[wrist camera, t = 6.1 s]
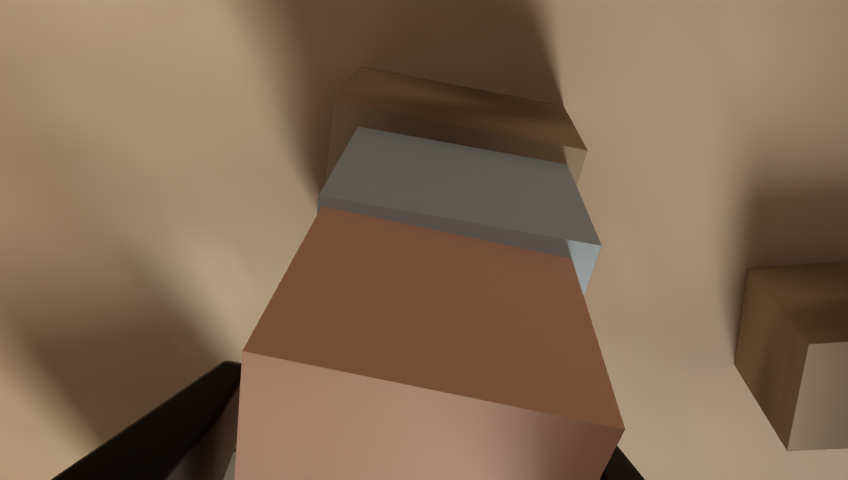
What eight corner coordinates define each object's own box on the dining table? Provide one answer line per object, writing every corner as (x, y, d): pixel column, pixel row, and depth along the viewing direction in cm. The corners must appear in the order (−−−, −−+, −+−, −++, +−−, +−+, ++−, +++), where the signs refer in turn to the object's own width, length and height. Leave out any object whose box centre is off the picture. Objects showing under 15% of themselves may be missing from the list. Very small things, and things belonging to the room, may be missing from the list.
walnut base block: (563, 105, 17) (587, 150, 13) (512, 275, 20) (521, 349, 16) (361, 65, 17) (332, 101, 13) (340, 242, 20) (312, 311, 16)
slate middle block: (567, 164, 14) (601, 246, 10) (516, 331, 16) (530, 445, 12) (358, 126, 13) (318, 194, 10) (338, 300, 16) (301, 405, 12)
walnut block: (878, 256, 18) (975, 333, 15) (853, 355, 20) (934, 444, 17) (745, 268, 19) (808, 344, 15) (733, 363, 21) (787, 450, 17)
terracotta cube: (572, 258, 10) (625, 428, 7) (505, 436, 12) (518, 636, 9) (322, 205, 10) (242, 351, 7) (298, 394, 12) (228, 581, 9)
